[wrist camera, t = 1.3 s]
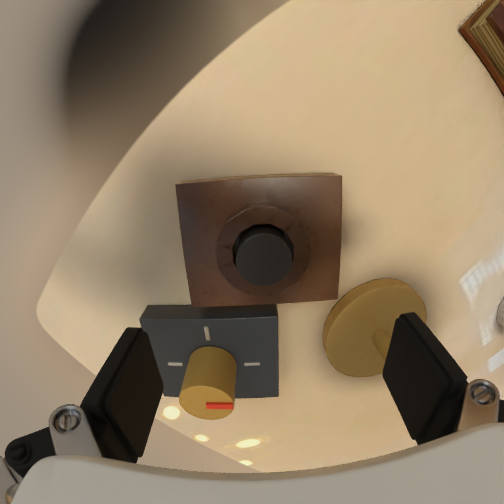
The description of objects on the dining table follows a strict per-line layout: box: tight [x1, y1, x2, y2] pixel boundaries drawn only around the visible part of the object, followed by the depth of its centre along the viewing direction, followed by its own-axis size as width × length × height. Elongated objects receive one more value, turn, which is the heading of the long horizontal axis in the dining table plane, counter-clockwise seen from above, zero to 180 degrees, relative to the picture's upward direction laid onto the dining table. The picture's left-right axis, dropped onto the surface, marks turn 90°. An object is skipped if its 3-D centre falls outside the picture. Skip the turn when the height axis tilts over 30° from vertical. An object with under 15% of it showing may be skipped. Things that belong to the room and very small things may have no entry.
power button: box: [236, 227, 292, 286], centre depth 19 cm, size 4×4×2 cm
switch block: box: [176, 173, 342, 307], centre depth 22 cm, size 12×10×4 cm
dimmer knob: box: [179, 346, 237, 420], centre depth 22 cm, size 4×4×5 cm
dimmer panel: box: [139, 304, 279, 398], centre depth 26 cm, size 12×10×3 cm
